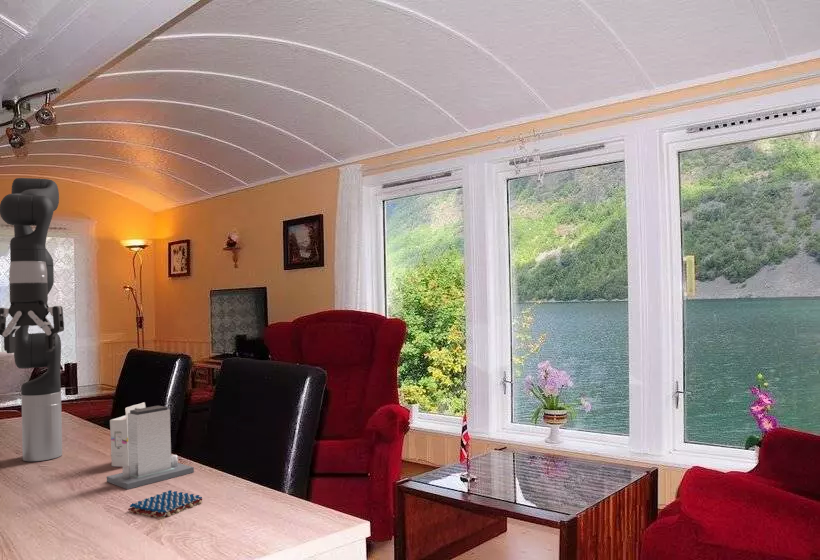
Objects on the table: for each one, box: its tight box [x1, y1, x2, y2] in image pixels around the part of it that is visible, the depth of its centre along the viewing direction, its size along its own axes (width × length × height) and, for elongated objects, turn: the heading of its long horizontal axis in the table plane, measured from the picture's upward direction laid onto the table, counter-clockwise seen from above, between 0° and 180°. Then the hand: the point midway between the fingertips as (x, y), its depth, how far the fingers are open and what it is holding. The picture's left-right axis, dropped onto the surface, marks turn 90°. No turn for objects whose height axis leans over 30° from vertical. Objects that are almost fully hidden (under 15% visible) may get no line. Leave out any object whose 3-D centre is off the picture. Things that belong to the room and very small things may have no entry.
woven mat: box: [127, 489, 203, 520], centre depth 128 cm, size 10×11×2 cm
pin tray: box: [106, 454, 195, 490], centre depth 150 cm, size 16×10×4 cm, turn 140°
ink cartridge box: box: [109, 401, 147, 468], centre depth 164 cm, size 9×5×15 cm, turn 168°
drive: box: [128, 405, 172, 477], centre depth 150 cm, size 4×8×15 cm, turn 140°
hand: (30, 352), depth 147 cm, fingers open, 8 cm apart
